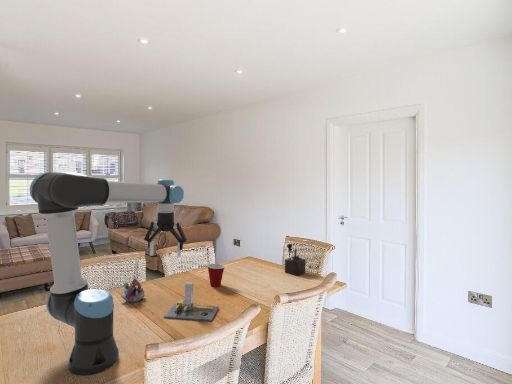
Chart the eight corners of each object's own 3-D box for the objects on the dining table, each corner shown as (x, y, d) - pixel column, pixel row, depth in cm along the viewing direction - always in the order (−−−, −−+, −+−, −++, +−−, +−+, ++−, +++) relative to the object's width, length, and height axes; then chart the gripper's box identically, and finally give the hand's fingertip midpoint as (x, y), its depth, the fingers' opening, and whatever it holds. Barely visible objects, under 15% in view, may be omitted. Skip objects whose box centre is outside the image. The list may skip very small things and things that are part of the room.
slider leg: (187, 314, 143) (188, 287, 142) (181, 313, 143) (181, 287, 142) (193, 306, 151) (193, 281, 151) (187, 305, 152) (187, 281, 151)
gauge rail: (208, 316, 141) (209, 309, 141) (170, 313, 143) (170, 306, 143) (213, 308, 150) (213, 302, 150) (177, 305, 152) (177, 299, 152)
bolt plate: (211, 321, 138) (211, 319, 138) (163, 317, 141) (163, 315, 141) (218, 308, 152) (218, 306, 152) (175, 305, 155) (175, 303, 155)
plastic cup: (228, 284, 185) (229, 264, 184) (215, 289, 176) (216, 269, 176) (215, 280, 192) (216, 261, 191) (202, 285, 183) (202, 265, 182)
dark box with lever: (306, 272, 212) (307, 246, 211) (296, 276, 204) (297, 249, 204) (288, 267, 223) (289, 242, 222) (278, 270, 215) (279, 245, 214)
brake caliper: (139, 300, 153) (126, 279, 154) (123, 311, 155) (111, 291, 156) (152, 292, 164) (140, 273, 165) (137, 302, 166) (125, 283, 168)
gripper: (193, 211, 152) (192, 255, 153) (143, 210, 154) (143, 252, 155) (189, 213, 145) (188, 259, 146) (137, 211, 146) (136, 256, 148)
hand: (165, 255), depth 150 cm, fingers open, 13 cm apart
